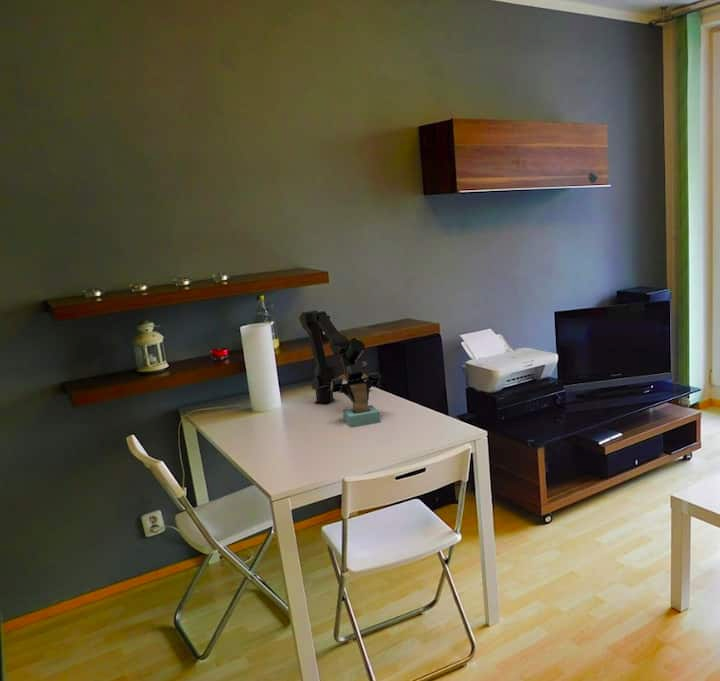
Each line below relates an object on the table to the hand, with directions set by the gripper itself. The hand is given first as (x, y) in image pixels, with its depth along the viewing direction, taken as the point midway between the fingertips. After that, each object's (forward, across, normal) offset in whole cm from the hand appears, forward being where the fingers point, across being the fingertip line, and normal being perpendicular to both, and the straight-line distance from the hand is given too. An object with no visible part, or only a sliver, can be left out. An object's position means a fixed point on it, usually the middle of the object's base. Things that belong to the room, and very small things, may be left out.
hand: (361, 401), depth 227 cm
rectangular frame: (+5, 0, +7) cm, 8 cm away
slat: (+4, 0, +6) cm, 7 cm away
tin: (-24, +9, +36) cm, 44 cm away
